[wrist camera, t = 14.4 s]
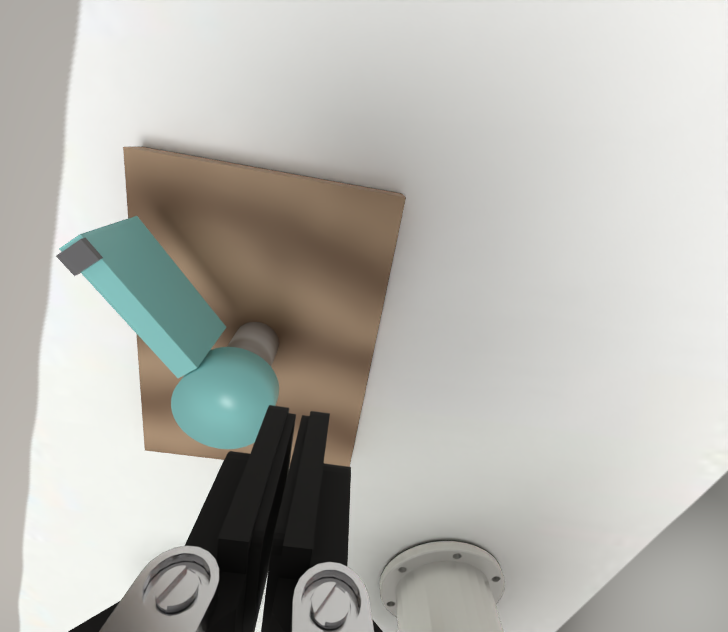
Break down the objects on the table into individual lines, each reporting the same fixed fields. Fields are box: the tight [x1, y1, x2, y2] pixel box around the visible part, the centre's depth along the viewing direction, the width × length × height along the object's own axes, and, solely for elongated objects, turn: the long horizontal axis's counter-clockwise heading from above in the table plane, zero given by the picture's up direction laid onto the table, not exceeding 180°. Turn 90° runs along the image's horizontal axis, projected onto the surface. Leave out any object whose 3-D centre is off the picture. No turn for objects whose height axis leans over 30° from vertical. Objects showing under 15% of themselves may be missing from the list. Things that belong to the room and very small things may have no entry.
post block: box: [123, 147, 406, 468], centre depth 25 cm, size 22×16×7 cm
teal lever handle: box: [56, 216, 279, 449], centre depth 20 cm, size 12×5×5 cm, turn 30°
